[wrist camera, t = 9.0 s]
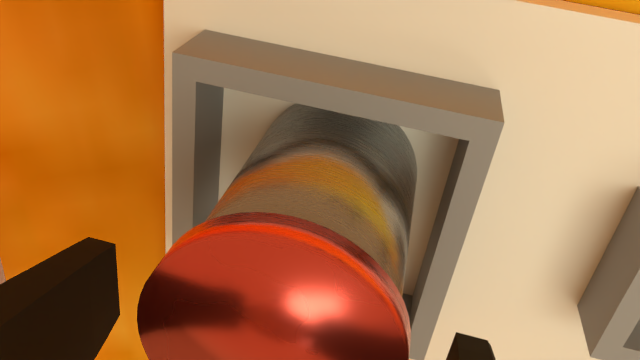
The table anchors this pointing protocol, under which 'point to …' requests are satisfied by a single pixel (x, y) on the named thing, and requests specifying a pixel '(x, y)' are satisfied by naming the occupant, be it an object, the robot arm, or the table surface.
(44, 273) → the robot arm
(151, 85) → the table surface
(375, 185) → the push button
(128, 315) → the table surface
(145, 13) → the table surface
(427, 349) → the socket board
